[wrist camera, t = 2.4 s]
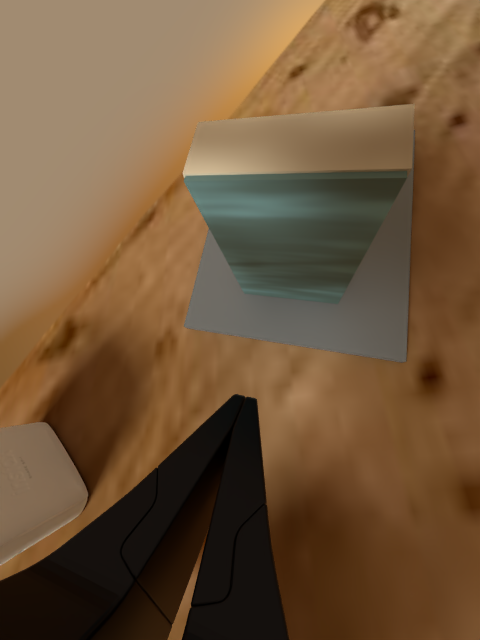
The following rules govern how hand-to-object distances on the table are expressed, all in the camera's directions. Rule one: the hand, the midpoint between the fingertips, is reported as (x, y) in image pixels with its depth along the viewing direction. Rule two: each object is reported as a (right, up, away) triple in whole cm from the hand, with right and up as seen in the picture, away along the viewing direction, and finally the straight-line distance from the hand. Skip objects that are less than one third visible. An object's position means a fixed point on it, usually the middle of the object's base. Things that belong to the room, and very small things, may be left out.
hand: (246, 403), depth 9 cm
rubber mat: (+6, +12, +16) cm, 21 cm away
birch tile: (+5, +7, +14) cm, 17 cm away
